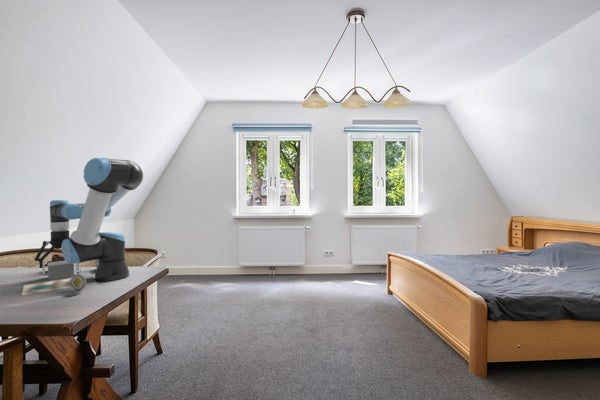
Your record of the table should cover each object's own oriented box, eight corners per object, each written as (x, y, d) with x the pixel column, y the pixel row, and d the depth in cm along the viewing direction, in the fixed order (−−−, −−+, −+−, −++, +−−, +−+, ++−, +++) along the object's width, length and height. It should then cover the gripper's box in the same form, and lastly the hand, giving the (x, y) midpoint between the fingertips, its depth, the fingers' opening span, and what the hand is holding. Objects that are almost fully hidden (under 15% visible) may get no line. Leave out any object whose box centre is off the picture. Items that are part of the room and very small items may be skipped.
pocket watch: (60, 298, 125) (59, 273, 125) (64, 292, 133) (64, 269, 132) (84, 294, 129) (83, 271, 129) (87, 289, 136) (87, 267, 136)
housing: (72, 274, 162) (72, 259, 162) (74, 278, 155) (73, 262, 155) (48, 278, 156) (47, 262, 156) (48, 282, 148) (48, 266, 148)
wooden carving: (42, 271, 170) (42, 254, 170) (52, 269, 175) (51, 252, 174) (61, 274, 164) (60, 255, 164) (70, 272, 168) (70, 254, 168)
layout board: (82, 278, 155) (82, 276, 155) (86, 286, 140) (86, 284, 140) (23, 287, 140) (23, 285, 140) (22, 297, 126) (22, 295, 126)
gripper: (88, 227, 166) (89, 266, 166) (27, 231, 150) (28, 274, 150) (90, 228, 160) (91, 268, 161) (27, 233, 144) (28, 277, 144)
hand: (61, 271), depth 155 cm, fingers open, 13 cm apart
